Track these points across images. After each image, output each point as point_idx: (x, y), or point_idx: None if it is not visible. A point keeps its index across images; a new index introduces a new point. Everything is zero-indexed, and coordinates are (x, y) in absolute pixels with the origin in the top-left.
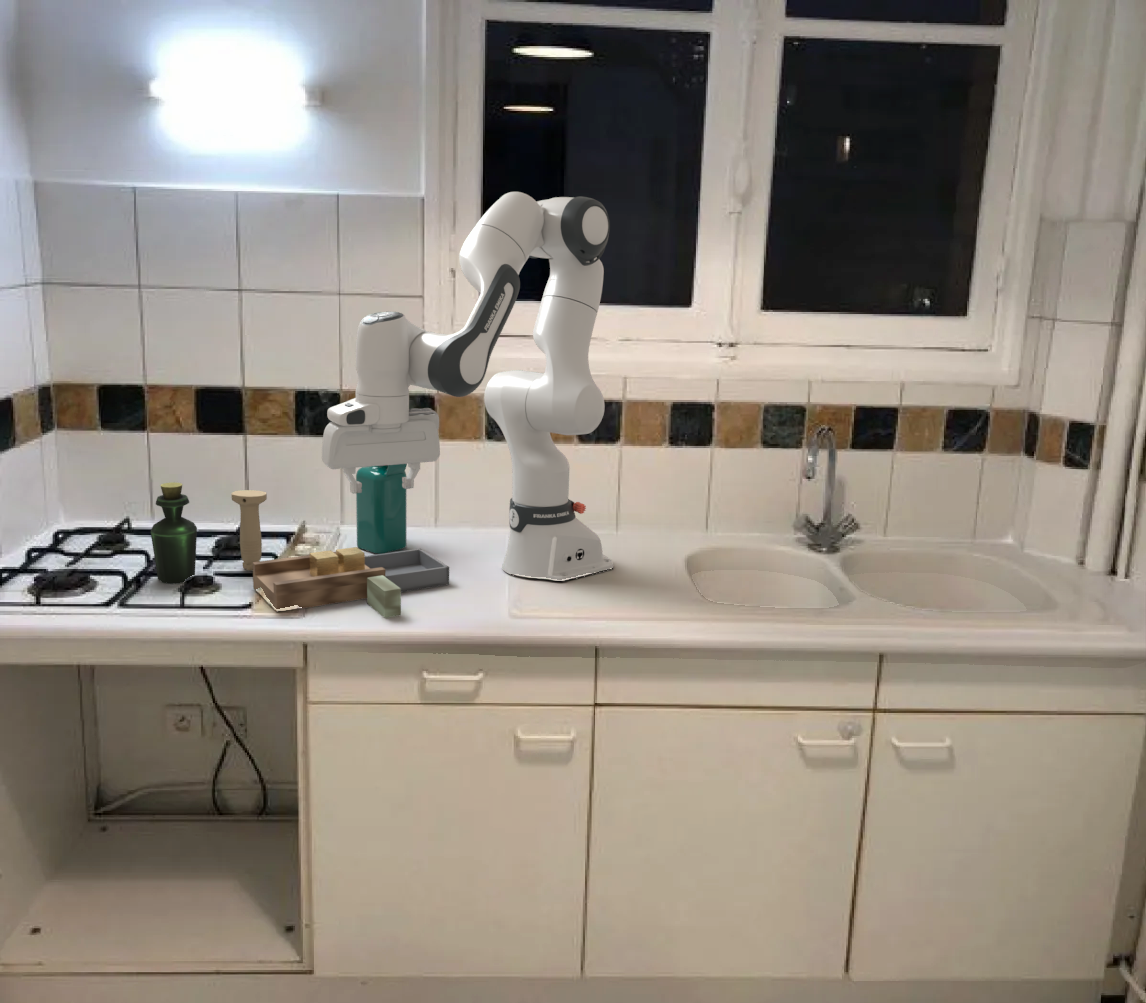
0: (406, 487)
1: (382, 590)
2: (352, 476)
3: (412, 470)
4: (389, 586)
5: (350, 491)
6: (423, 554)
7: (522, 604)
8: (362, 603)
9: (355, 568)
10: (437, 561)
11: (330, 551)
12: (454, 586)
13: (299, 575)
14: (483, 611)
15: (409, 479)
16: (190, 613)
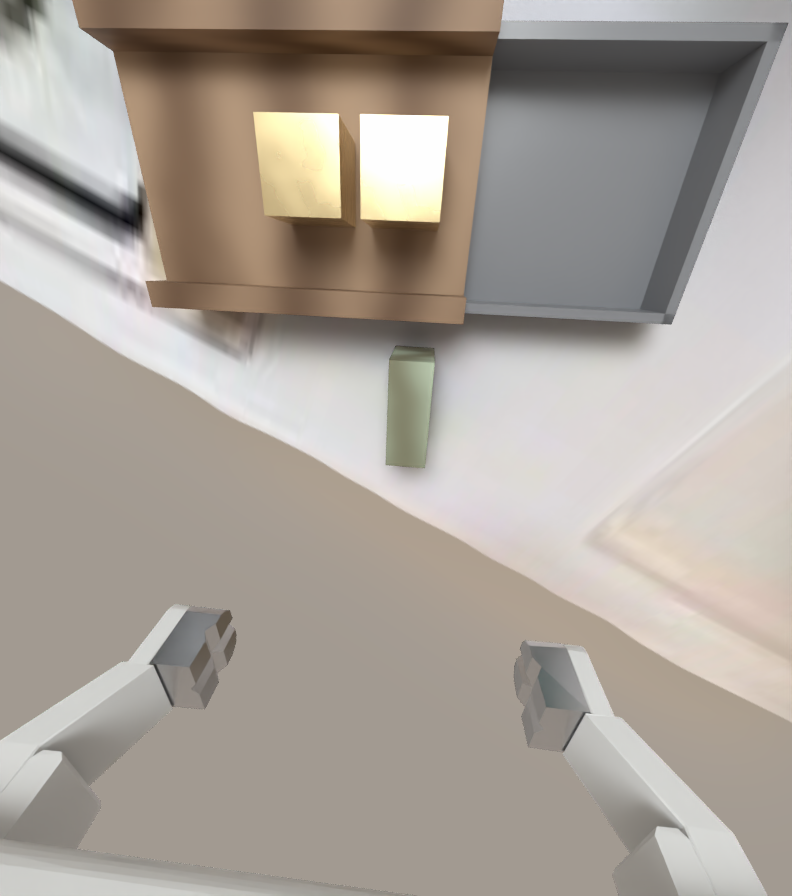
0: (517, 684)
1: (386, 453)
2: (98, 770)
3: (632, 817)
4: (409, 445)
5: (177, 605)
6: (738, 104)
7: (660, 502)
8: (386, 338)
9: (407, 227)
10: (690, 249)
11: (332, 133)
12: (641, 336)
13: (251, 140)
14: (569, 495)
15: (552, 748)
16: (5, 201)
